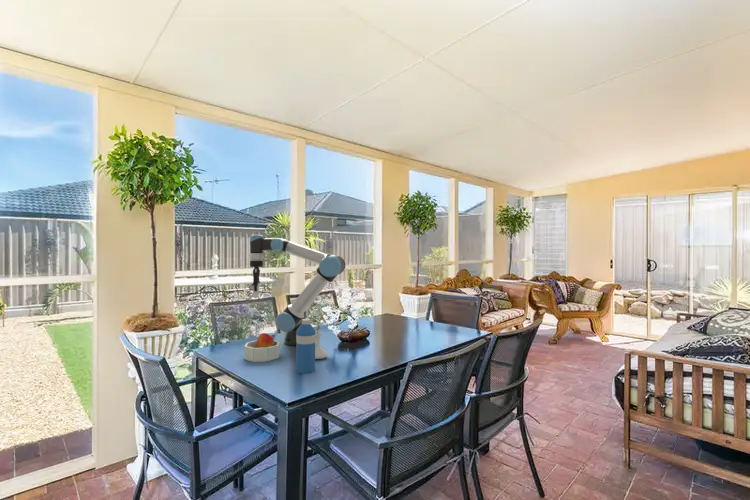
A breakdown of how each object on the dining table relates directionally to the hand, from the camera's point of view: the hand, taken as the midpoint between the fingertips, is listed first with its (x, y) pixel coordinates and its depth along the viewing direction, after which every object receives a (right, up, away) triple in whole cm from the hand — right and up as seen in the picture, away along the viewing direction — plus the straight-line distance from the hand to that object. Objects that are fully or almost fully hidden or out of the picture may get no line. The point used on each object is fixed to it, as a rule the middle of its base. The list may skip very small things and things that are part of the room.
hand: (256, 295), depth 228 cm
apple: (+10, -29, -20) cm, 37 cm away
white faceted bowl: (+10, -31, -21) cm, 39 cm away
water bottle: (+38, -32, -43) cm, 65 cm away
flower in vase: (+41, -32, -21) cm, 56 cm away
